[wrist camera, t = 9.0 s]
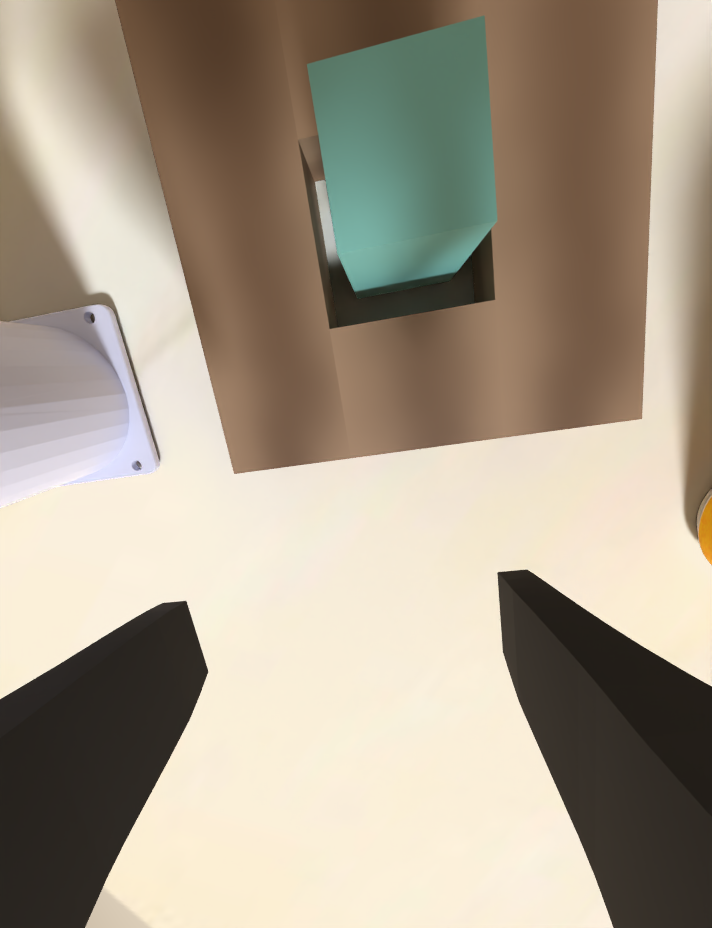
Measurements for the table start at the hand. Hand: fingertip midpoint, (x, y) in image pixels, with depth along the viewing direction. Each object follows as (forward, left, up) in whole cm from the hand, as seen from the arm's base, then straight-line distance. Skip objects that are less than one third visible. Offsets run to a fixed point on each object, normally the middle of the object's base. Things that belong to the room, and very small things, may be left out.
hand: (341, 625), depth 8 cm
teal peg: (+3, +10, -11) cm, 15 cm away
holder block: (+3, +10, -10) cm, 15 cm away
